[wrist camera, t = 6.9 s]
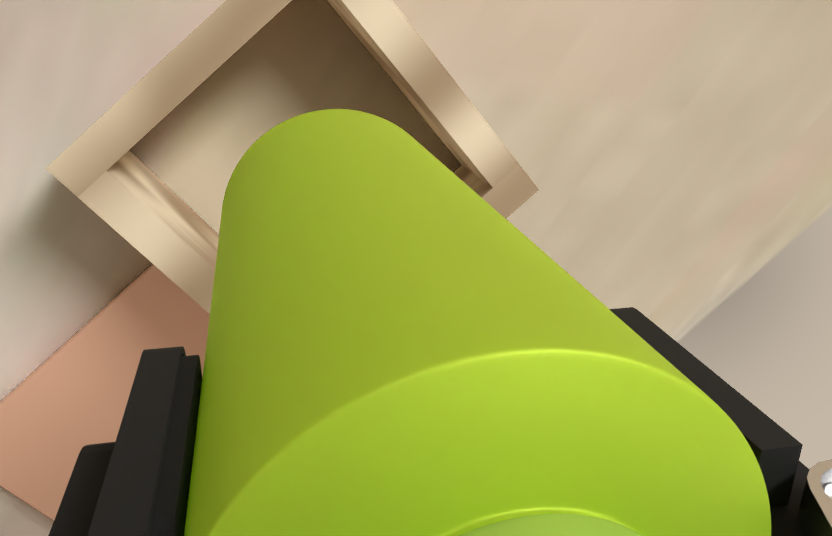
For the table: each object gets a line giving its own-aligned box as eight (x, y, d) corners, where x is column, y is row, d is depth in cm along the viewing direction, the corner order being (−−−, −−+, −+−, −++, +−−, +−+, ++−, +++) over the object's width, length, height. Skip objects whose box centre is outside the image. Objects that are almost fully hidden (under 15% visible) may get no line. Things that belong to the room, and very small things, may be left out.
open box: (75, 145, 31) (45, 168, 27) (312, -74, 30) (323, -89, 26) (295, 347, 37) (302, 395, 32) (502, 166, 36) (538, 189, 31)
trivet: (-48, 444, 34) (-53, 451, 34) (163, 254, 34) (161, 258, 33) (171, 589, 40) (170, 597, 39) (357, 428, 39) (359, 434, 38)
